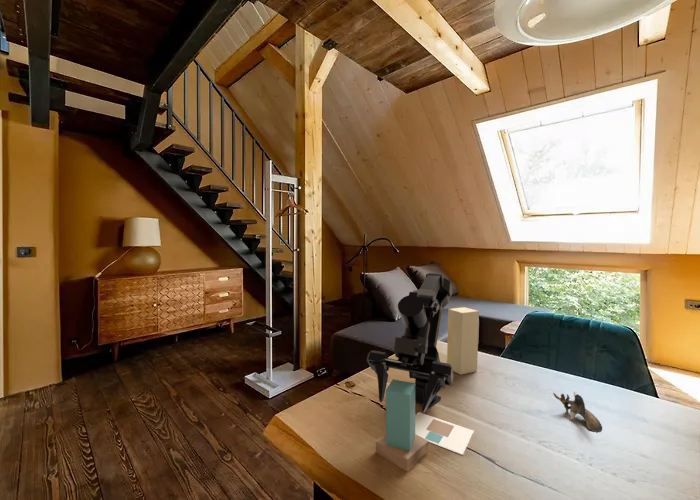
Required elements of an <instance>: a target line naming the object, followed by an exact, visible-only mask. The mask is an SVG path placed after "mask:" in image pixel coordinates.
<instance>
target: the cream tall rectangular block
mask: <svg viewBox="0 0 700 500" xmlns="http://www.w3.org/2000/svg"><path fill="white" fill-rule="evenodd" d="M447 313H448V314H447V345H446V346H447V348H446V349H447V352H446V363H448V364H450V365H451V367H452V370H453V373H456V374H458V375H462V376H463V375H466V374H469V373H474V372H477V371H478V357H479V356H478V351H479V350H478V349H479V319H480V311H479V310H477V309H474V308H473V309H472V308H468V307H465V306H463V307H454V308H448V311H447Z"/></svg>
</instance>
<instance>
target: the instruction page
mask: <svg viewBox="0 0 700 500" xmlns="http://www.w3.org/2000/svg"><path fill="white" fill-rule="evenodd" d="M474 432H475V430H474V429H470V428H467V427H464V426H461V425H459V424H455V423H453V422H449V421H446V420H443V419H440V418H439V417H435V416H432V415H428V414H427V413H426V414H425V413H424V412H420V411H418V412H417V413H415V434H416V435H418V436H420V437H422V438H424V439H426V440H428V443H430V444H433V445H435V446H438V447H440V448H443V449H446V450H449V451H451V452H454V453H455V454H459V455H461V456H463V455H464V454H465V452H466V449H467V447H468V445H469V443H470V441H471V439H472V438H473V437H472V436H473V435H474Z"/></svg>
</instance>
